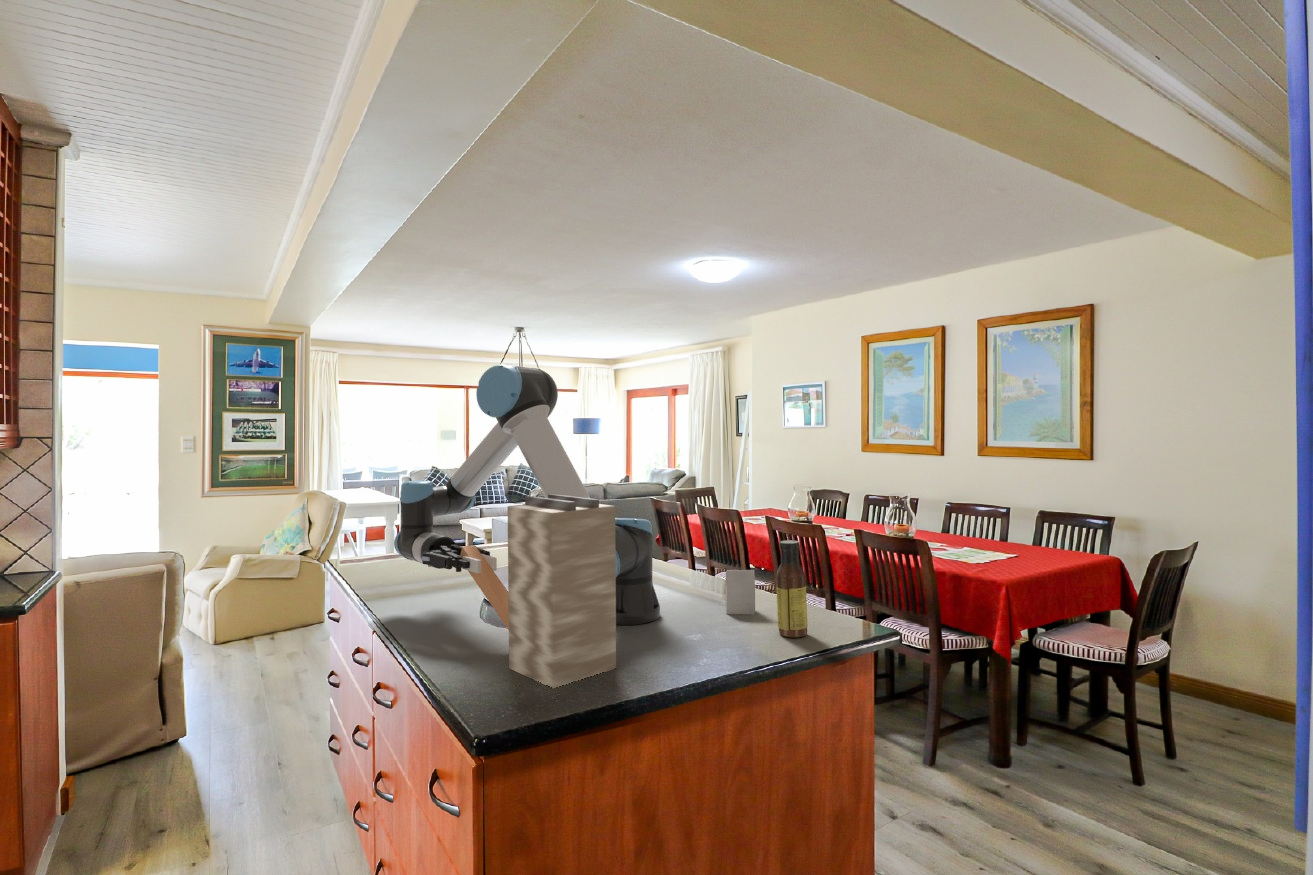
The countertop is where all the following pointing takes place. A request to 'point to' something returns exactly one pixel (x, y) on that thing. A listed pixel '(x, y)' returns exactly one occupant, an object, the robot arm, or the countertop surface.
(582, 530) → the grey-brown tall block
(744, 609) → the light grey block
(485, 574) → the orange bar
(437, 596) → the countertop surface
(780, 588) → the sauce bottle
